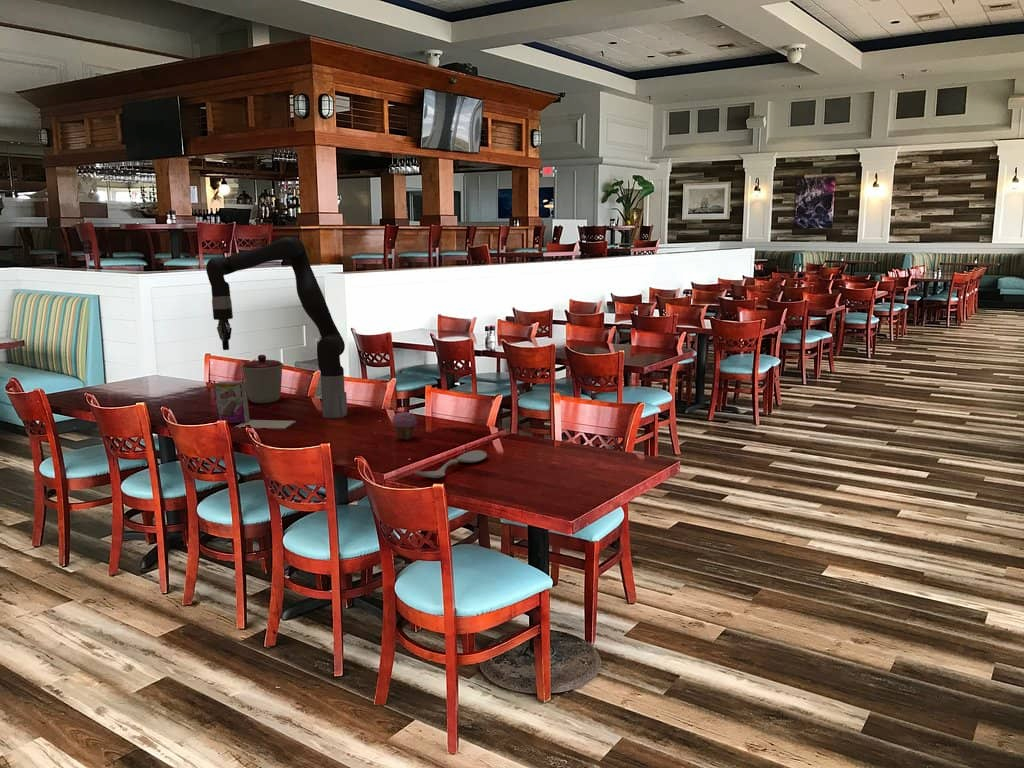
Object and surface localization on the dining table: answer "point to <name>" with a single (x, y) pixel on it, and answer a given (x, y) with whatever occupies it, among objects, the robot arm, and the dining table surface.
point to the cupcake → (404, 425)
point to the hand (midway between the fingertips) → (226, 349)
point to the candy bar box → (232, 401)
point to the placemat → (267, 424)
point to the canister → (263, 379)
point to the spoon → (466, 458)
